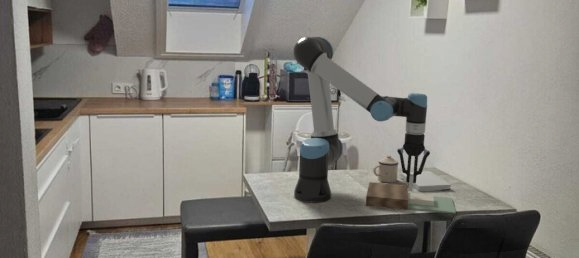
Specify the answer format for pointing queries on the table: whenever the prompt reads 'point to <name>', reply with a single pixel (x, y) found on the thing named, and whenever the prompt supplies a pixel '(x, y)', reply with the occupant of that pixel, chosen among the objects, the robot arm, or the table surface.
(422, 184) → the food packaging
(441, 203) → the rubber mat
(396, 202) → the walnut board
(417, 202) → the ceramic tile
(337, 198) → the table surface
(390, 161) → the teacup with lid
